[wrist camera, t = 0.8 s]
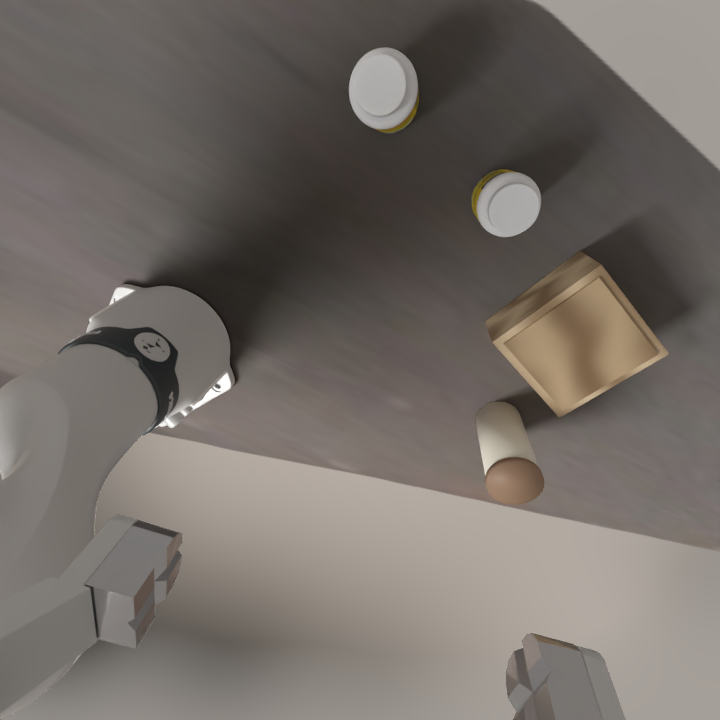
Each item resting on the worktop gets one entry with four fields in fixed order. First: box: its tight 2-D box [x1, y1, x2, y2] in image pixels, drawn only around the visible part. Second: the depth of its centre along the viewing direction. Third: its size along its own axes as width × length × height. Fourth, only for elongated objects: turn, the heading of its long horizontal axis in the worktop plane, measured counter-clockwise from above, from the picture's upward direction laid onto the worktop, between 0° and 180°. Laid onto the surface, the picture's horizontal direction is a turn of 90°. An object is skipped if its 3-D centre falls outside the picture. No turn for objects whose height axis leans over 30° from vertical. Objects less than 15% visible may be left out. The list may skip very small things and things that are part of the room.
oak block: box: [485, 251, 669, 418], centre depth 45 cm, size 12×12×6 cm
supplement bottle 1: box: [349, 47, 419, 133], centre depth 36 cm, size 6×6×10 cm
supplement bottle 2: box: [471, 169, 541, 237], centre depth 38 cm, size 5×5×10 cm
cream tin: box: [476, 401, 544, 505], centre depth 49 cm, size 6×6×12 cm
